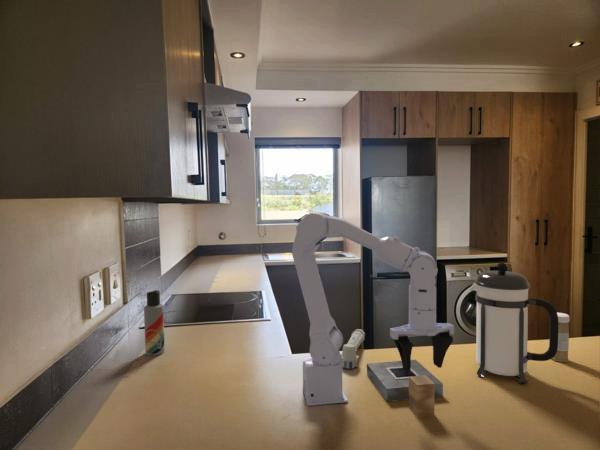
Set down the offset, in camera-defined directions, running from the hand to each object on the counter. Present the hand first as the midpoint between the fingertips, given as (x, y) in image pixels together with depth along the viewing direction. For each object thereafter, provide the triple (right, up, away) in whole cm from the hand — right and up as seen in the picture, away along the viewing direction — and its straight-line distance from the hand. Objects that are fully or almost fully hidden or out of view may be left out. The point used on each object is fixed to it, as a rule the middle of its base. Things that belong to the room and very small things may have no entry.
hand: (422, 367), depth 81 cm
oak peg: (0, -10, 0) cm, 10 cm away
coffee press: (+28, -8, +17) cm, 34 cm away
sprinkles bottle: (+48, -8, +25) cm, 55 cm away
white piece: (-10, -9, +33) cm, 35 cm away
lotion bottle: (-73, -9, +35) cm, 82 cm away
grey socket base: (-1, -9, +12) cm, 15 cm away
